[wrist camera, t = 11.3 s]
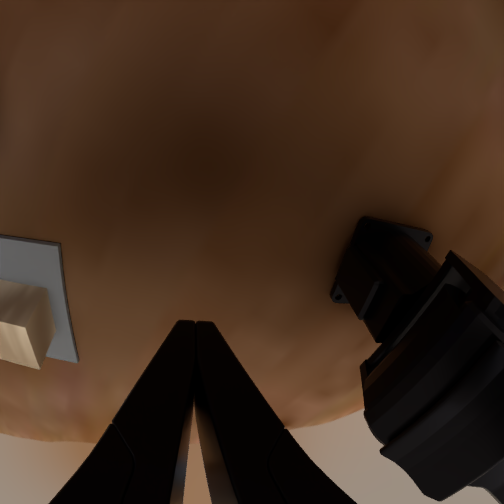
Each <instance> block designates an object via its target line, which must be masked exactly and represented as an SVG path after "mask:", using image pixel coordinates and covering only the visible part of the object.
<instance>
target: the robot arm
mask: <svg viewBox="0 0 504 504" xmlns="http://www.w3.org/2000/svg"><path fill="white" fill-rule="evenodd" d="M366 223H369V224H368V226H367V227H364V226H365V224H366ZM426 237H427V238H426ZM425 238H426V239H425ZM432 239H433V235H432V233H430V232H429V231H428V230H424V229H420V228H416V227H411V226H407V225H403V224H399V223H394V222H390V221H386V220H381V219H377V218H372V217H363V218H362V219H360V221H359V223H358V225H357V228H356V231H355V234H354V236H353V239H352V241H351V244H350V246H349V247H348V249H347V251H346V254H345V256H344V259H343V261H342V264H341V266H340V269H339V271H338V274H337V276H336V281H335V284H334V286H333V289H332V291H331V293H330V297H331V299H332V301H333V302H335V303H348V304H350V305H351V307H352V309H353V310H354V312H355V314H356V316H357V317H358V319H359V320H363V321H364V323H365V325H366V326H367V328H368V330H369V331H370V333H371V335H372V337H373V338H374V340H375V342H376V343H382V344H381V345H380V346H379V347H378V348H377V350H376V351H375V352H374V353H373V354H372V355H371V356H370V357H369V359H368V360H365V361H364V362H363V363H362V364H361V365H360V372H361V380H362V389H363V398H364V407H365V411H364V418H365V420H366V422H367V424H368V426H369V428H370V430H371V432H372V433H373V435H374V436H375V437H376V439H377V440H378V441H379V442H380V443H382V444H383V445H384V447H382V448H381V449H380V453H381V455H383V456H385V457H386V458H388V459H390V460H392V461H393V462H395V463H396V464H397V465H399V466H400V467H401V468H402V469H403V470H404V471H406V473H407V474H408V475H409V476H410V477H411V478H412V479H413V481H414V482H415V484H416V485H417V486H418V488H419V489H420V490H421V491H422V493H423V494H424V495H426V496H428V497H430V498H432V499H435V500H437V501H443V500H445V499H446V498H448V497H450V496H451V495H453V494H455V493H457V492H458V491H460V490H461V489H463V488H464V487H466V486H472V487H481V488H484V489H485V490H486V491H488V492H489V493H490V494H491V495H492V496H493V497H494V499H495V500H496V501H497V502H498V503H499V504H504V291H503V290H502V289H501V288H500V287H498V286H497V285H496V284H495V283H494V282H493V281H492V280H491V279H490V278H489V277H488V276H487V275H485V274H484V273H483V272H482V271H480V270H479V269H477V268H476V267H475V266H473V265H472V264H470V263H469V262H468V261H466V260H465V259H463V258H462V257H461V256H459V255H458V254H456V253H455V252H453V251H452V250H450V251H449V253H448V254H447V256H446V257H445V259H446V260H445V262H444V263H443V265H442V266H441V265H440V264H439V263H438V262H437V261H436V260H435V259H434V258H433V257H432V256H431V255H430V254H429V253H428V252H427V251H428V248H429V246H430V244H431V242H432ZM338 294H339V296H336V295H338ZM193 407H195V416H196V422H197V428H198V434H199V440H200V446H201V451H202V456H203V462H204V468H205V473H206V478H207V483H208V488H209V492H210V497H211V502H212V504H357V503H356V502H355V501H354V500H353V499H351V498H350V497H349V496H348V495H347V494H346V493H345V492H344V491H343V490H342V489H340V488H339V487H338V486H337V485H336V484H335V483H334V482H333V481H332V480H331V479H330V478H329V477H328V476H326V474H325V473H324V472H323V471H322V470H321V469H320V468H319V467H318V466H317V465H316V464H315V463H314V462H313V461H312V460H311V459H310V458H309V456H308V455H307V454H306V453H305V452H304V450H303V449H302V448H301V447H300V445H299V444H298V443H297V442H296V440H295V439H294V438H293V436H292V435H291V434H290V432H289V431H288V430H287V429H284V428H285V426H284V425H283V423H282V422H281V420H280V419H279V418H278V416H277V415H276V414H275V412H274V411H273V409H272V408H271V407H270V405H269V404H268V402H267V401H266V400H265V398H264V397H263V395H262V394H261V393H260V391H259V390H258V388H257V387H256V385H255V384H254V383H253V381H252V380H251V378H250V377H249V375H248V374H247V372H246V371H245V369H244V368H243V366H242V365H241V363H240V362H239V360H238V359H237V358H236V356H235V354H234V353H233V351H232V350H231V348H230V347H229V345H228V344H227V342H226V341H225V339H224V338H223V336H222V335H221V333H220V332H219V330H218V328H217V327H216V325H215V324H214V323H213V322H211V321H197V322H196V324H195V321H193V320H178V321H177V322H176V324H175V325H174V327H173V328H172V330H171V331H170V333H169V334H168V336H167V337H166V339H165V340H164V342H163V343H162V345H161V346H160V348H159V349H158V351H157V352H156V354H155V355H154V357H153V358H152V360H151V361H150V363H149V364H148V366H147V367H146V369H145V370H144V372H143V374H142V375H141V377H140V378H139V380H138V381H137V383H136V384H135V386H134V387H133V389H132V390H131V392H130V393H129V395H128V397H127V398H126V400H125V401H124V403H123V404H122V406H121V407H120V409H119V411H118V412H117V414H116V415H115V417H114V418H113V420H112V424H109V426H108V427H107V429H106V431H105V432H104V434H103V435H102V437H101V438H100V440H99V441H98V443H97V444H96V446H95V447H94V449H93V450H92V452H91V453H90V455H89V456H88V457H87V458H86V460H85V461H84V462H83V463H82V465H81V466H80V467H79V469H78V470H77V471H76V472H75V473H74V475H73V476H72V477H71V478H70V479H69V480H68V482H67V483H66V484H65V485H64V486H63V488H62V489H61V490H60V491H59V492H58V493H57V495H56V496H55V497H54V498H53V499H52V500H51V501H50V503H49V504H183V496H184V487H185V477H186V468H187V459H188V449H189V441H190V433H191V425H192V417H193Z"/></svg>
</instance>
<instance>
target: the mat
mask: <svg viewBox="0 0 504 504" xmlns="http://www.w3.org/2000/svg"><path fill="white" fill-rule="evenodd" d="M0 279H1V280H5V281H10V282H15V283H21V284H26V285H31V286H37V287H42V288H47V291H48V296H49V301H50V306H51V311H52V315H53V320H54V324H55V328H56V332H55V334H54V337H53V339H52V341H51V344H50V346H49V349H48V351H47V354H46V356H47V357H51V358H55V359H60V360H64V361H69V362H74V363H78V362H79V357H78V353H77V349H76V344H75V340H74V335H73V330H72V325H71V320H70V314H69V309H68V303H67V296H66V290H65V283H64V275H63V266H62V257H61V246H60V243H53V242H46V241H39V240H32V239H25V238H18V237H12V236H5V235H0Z"/></svg>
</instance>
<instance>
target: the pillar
mask: <svg viewBox="0 0 504 504" xmlns="http://www.w3.org/2000/svg"><path fill="white" fill-rule="evenodd" d="M55 332H56V328H55V324H54V320H53V315H52V311H51V306H50V301H49V296H48V291H47V288H42V287H37V286H31V285H26V284H21V283H15V282H10V281H5V280H1V279H0V359H3V360H6V361H10V362H13V363H17V364H20V365H24V366H28V367H31V368H35V369H39V370H40V369H41V366H42V364H43V361H44V359H45V356H46V354H47V351H48V349H49V346H50V344H51V341H52V339H53V337H54V334H55Z"/></svg>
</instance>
